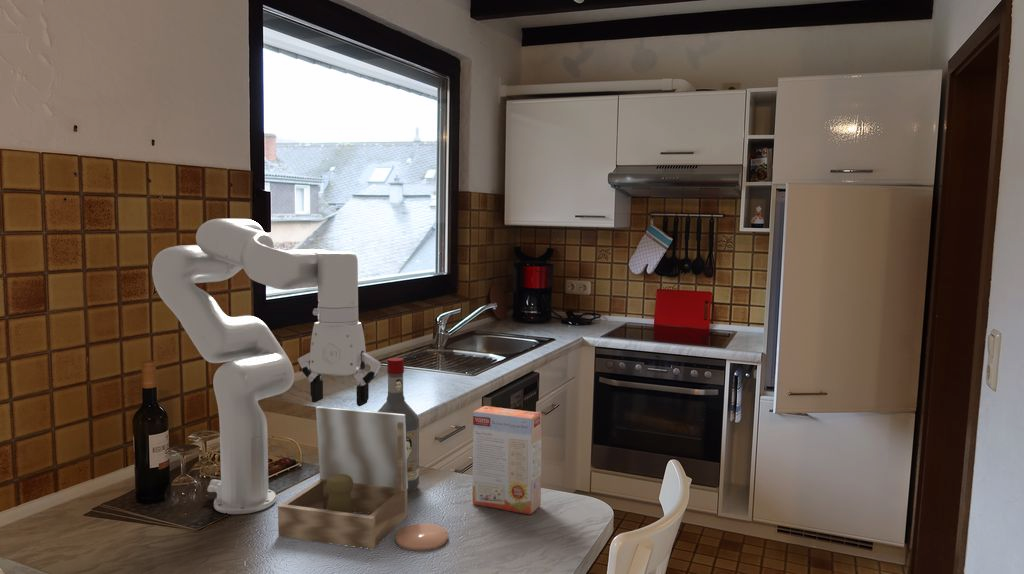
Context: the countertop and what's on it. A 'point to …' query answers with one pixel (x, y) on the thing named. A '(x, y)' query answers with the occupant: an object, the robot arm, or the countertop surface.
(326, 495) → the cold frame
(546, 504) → the countertop surface
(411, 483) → the liquor
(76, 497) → the countertop surface
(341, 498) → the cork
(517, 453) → the cracker box
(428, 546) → the peach flat disc
